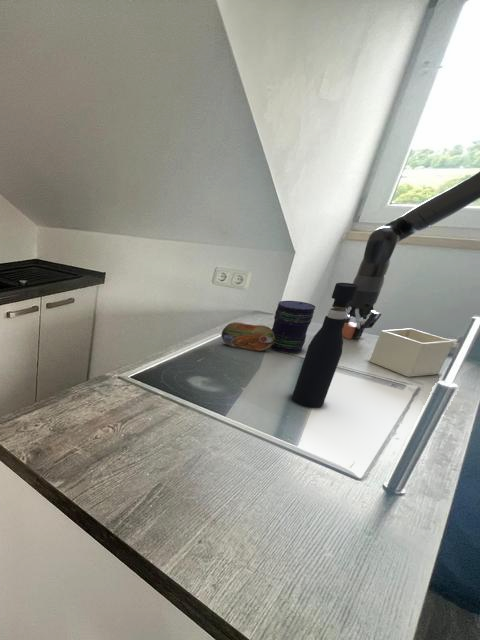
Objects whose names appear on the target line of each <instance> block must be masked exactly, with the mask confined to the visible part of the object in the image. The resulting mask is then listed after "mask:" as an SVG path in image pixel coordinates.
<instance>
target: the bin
mask: <svg viewBox="0 0 480 640" xmlns="http://www.w3.org/2000/svg"><path fill="white" fill-rule="evenodd" d="M454 344H455V340H452V339H449V338H445V337H442V336H439V335H435V334H432V333H428V332H426V331H421V330H418V329H415V328H413V327H409V328H396V329H395V328H394V329H384V330H383V329H382V330H380V333H379V336H378V338H377V341H376V343H375V345H374V348H373V350H372V353H371V356H370V357H369V360H368V362H370V363H373V364H375V365H378V366H379V367H382V368H385V369H387V370H390V371H392V372H395V373H398V374H399V375H403V376H405V377H408V378H411V377H421V376H431V375H432V376H433V375H439V374H440V372H441V370H442V368H443V366H444V364H445V362H446V360H447V358H448V355H449V353H450V352H451V350H452V348H453V346H454Z"/></svg>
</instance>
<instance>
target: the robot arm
mask: <svg viewBox="0 0 480 640" xmlns="http://www.w3.org/2000/svg"><path fill="white" fill-rule="evenodd" d="M479 199H480V171H478V172H476V173H475V174H473V175H471V176H470V177H469V178H466V179H465V180H463V181H461V182H460V183H457V184H456V185H454V186H452V187H450V188H448V189H446V190H444V191H442V192H441V193H439V194H437V195H435V196H434V197H431V198H430V199H428V200H426V201H424V202H422V203H421V204H419V205H417V206H415V207H413V208H412V209H410V210H409V211H407V212H405V214H403V215H401V216H399V217H397V218H394V219H393V220H391V221H390V222H387V223H385V224H384V225H382V226H380V227H378V228H377V229H375V230H373V231H372V232H371V234H370V235H369V236H368V239H367V242H366V246H365V248H364V249H365V250H364V252H363V257H362V260H361V262H360V264H359V267H358V270H357V273H356V275H355V277H354V279H353V281H352V284H356V285H358V288H357V291H356V294H355V297H354V300H352V301H349V302H348V305H347V308H346V309H344V310H347V314H346V317H345V319H346V321H345V323H349V322H351V320H352V319H353V318H354V319H355V323H356V324H357V328H355V331H354V334H353V337H352V339H360V338H361V337H362V336H363V333H364V331H365V329H372V328H373V326H374V325H375V324H376V323H377V321H378V320H379V319H380V317H381V316H382V312H377V311H376V310H374V305H375V304H376V303H377V301H378V300H379V299H378V298H379V296H380V293H381V291H382V288H383V285H384V283H385V278H386V275H387V272H388V269H389V266H390V264H391V258H392V256H393V253H394V251H395V248H396V246H397V244H398V243H400V242H401V241H403V240H405V239H407V238H408V237H410V236H412V235H414V234H415V233H418V232H421V231H424V230H426V229H427V228H430V227H432V226H433V225H435V224H437V223H439V222H441V221H443V220H445V219H447V218H448V217H451V216H452V215H455V213H457V212H459V211H461V210H463V209H464V208H466V207H467V206H469V205H471V204H473V203H474V202H476V201H477V200H479ZM359 337H360V338H359Z"/></svg>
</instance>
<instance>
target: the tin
mask: <svg viewBox="0 0 480 640" xmlns="http://www.w3.org/2000/svg"><path fill="white" fill-rule="evenodd" d="M221 331H222V332H221V339H222V341H223V343H224V344H226V345H227V346H229V347H232V348H237V349H238V348H239V349H245V350H251V351H257V352H261V351H266V350H268V349H270V347H271V346H272V345H273V343H274V341H275V336H274V333H273V331H272V328H271V327H269V326H267V325H263V324H258V323H257V324H256V323H247V322H240V321H235V322H231V323H229V324H227V325H226V326H225V327H224V328H223V329H222V330H221Z"/></svg>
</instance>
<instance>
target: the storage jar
mask: <svg viewBox="0 0 480 640" xmlns="http://www.w3.org/2000/svg"><path fill="white" fill-rule="evenodd" d="M315 310H316V306H315V305H314V304H312V303H309V302H305V301H299V300H281V301H279V302H278V303H277V307H276V310H275V314H274V316H273V319H274V321H273V324H272V328H271V330H272V331H273V333H274V336H275V341H274V343H273V345H272V346H271V347H270V348H269V349H270V350H272V351H275V352H278V353H283V354H300V353H301V352H302V351H303V347H304V345H305V343H306V339H307V332H308V328H309V326H310V324H311V323H312V319H313V318H314V313H315Z"/></svg>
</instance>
